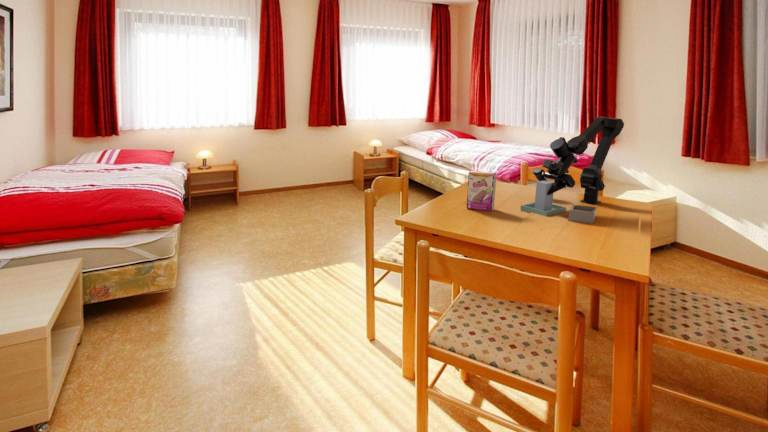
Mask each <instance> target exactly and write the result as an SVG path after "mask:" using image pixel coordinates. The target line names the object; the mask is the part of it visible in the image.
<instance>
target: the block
mask: <svg viewBox="0 0 768 432" xmlns="http://www.w3.org/2000/svg"><path fill="white" fill-rule="evenodd" d="M553 184H554V181H549V180H546V181H539V180H538V181H536V184H535V185H536V186H535V197H534V202H535V207H534V208H535V209H538V210H542V211H550V210H552V204H554V202H553V201H554V193H552V194H550V195H548V194H547V193H548V191H549V189H550V188H551V187H552V185H553Z"/></svg>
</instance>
